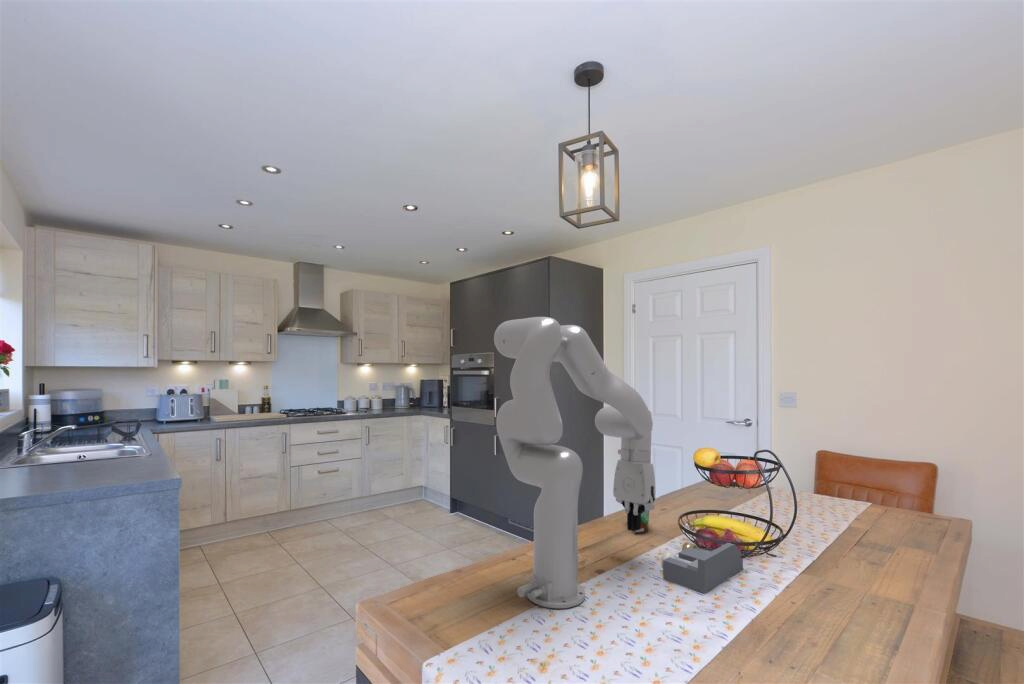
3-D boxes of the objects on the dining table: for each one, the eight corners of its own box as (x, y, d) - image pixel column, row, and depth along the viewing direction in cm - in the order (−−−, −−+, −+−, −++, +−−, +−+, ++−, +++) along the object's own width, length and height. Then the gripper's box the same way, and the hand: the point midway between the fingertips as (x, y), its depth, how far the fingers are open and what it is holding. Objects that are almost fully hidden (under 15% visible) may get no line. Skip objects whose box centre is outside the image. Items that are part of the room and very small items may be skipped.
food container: (657, 536, 140) (656, 501, 141) (635, 536, 140) (635, 501, 141) (646, 523, 153) (645, 491, 153) (626, 523, 153) (626, 491, 153)
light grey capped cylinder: (702, 585, 108) (702, 566, 108) (661, 570, 115) (661, 553, 115) (710, 580, 110) (710, 562, 111) (669, 566, 118) (669, 549, 118)
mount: (704, 593, 104) (704, 560, 104) (663, 578, 111) (662, 548, 112) (742, 568, 117) (742, 539, 118) (703, 557, 125) (703, 529, 125)
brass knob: (721, 572, 114) (721, 555, 115) (681, 560, 122) (681, 544, 122) (729, 568, 117) (728, 551, 117) (689, 556, 125) (689, 540, 125)
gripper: (603, 453, 127) (600, 524, 125) (653, 461, 116) (651, 540, 114) (620, 452, 132) (618, 520, 130) (669, 459, 121) (668, 535, 119)
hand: (633, 529), depth 122 cm, fingers closed
